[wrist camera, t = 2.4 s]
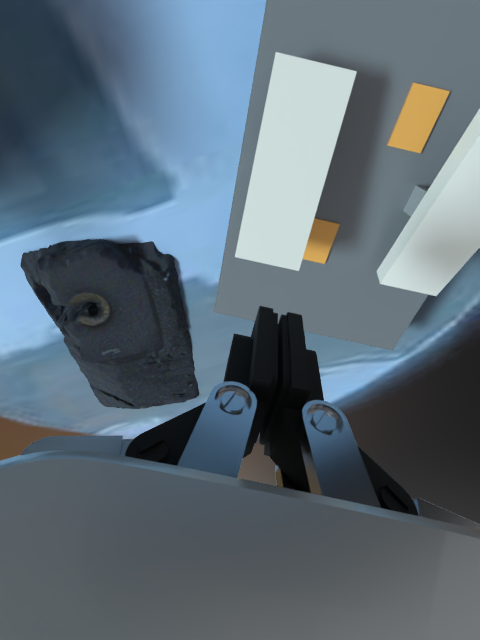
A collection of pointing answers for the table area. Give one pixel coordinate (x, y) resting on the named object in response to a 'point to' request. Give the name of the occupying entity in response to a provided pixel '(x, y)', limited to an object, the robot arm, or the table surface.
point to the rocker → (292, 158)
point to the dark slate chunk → (118, 318)
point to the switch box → (360, 156)
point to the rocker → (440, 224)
